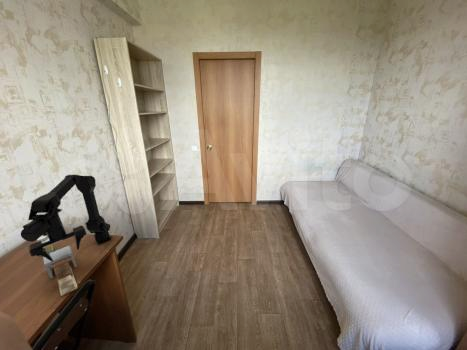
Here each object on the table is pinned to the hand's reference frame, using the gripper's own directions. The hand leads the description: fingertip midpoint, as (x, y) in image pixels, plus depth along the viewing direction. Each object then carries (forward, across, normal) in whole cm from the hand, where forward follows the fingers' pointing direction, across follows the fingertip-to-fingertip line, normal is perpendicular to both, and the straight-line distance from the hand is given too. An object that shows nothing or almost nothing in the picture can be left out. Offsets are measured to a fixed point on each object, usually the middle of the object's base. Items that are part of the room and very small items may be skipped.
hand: (65, 255), depth 90 cm
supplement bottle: (+11, +6, -29) cm, 32 cm away
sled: (+10, +3, +4) cm, 11 cm away
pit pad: (+11, +3, -16) cm, 20 cm away
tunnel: (+11, +3, -8) cm, 14 cm away
